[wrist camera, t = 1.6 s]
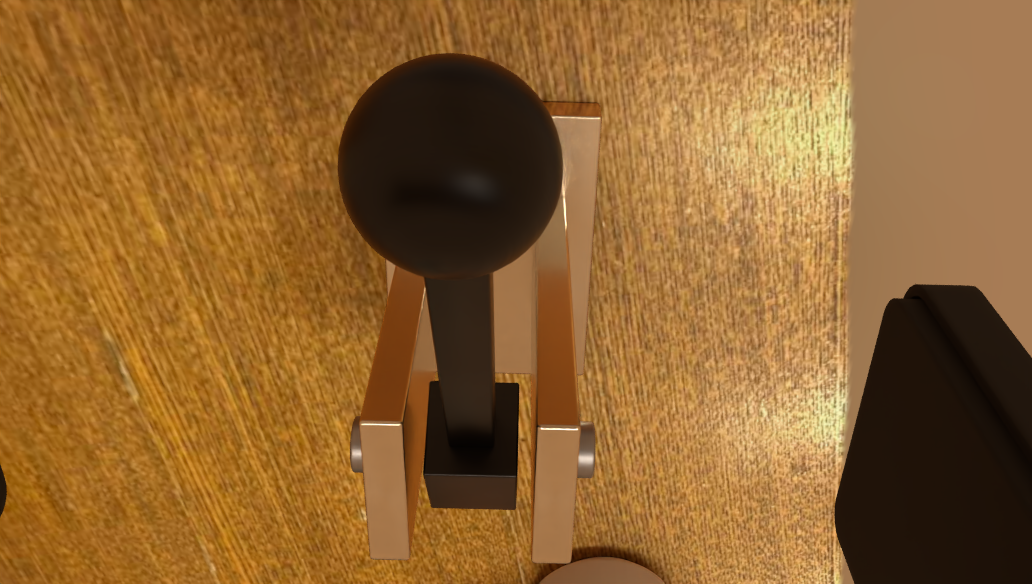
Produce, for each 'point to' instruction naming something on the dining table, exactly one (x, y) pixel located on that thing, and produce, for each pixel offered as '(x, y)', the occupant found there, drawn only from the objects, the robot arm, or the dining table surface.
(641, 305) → the dining table surface
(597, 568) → the beverage can
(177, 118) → the dining table surface
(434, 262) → the switch lever
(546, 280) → the switch bracket
